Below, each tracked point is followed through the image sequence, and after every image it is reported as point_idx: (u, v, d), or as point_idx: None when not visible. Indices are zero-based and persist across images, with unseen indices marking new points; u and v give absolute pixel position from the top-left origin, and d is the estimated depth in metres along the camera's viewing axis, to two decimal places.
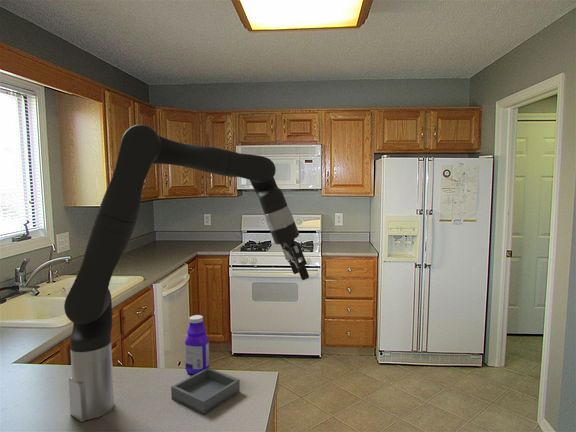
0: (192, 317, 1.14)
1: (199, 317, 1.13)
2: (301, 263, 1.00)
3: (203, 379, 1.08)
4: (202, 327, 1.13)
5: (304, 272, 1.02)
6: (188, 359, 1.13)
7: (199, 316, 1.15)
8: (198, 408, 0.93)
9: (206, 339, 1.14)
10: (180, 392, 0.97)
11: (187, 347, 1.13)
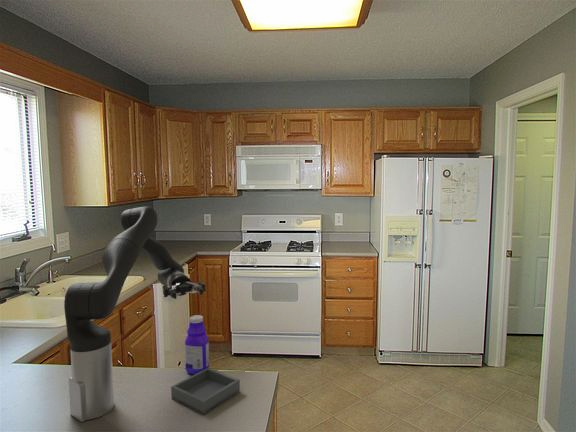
0: (192, 317, 1.14)
1: (199, 317, 1.13)
2: None
3: (203, 379, 1.08)
4: (202, 327, 1.13)
5: None
6: (188, 359, 1.13)
7: (199, 316, 1.15)
8: (198, 408, 0.93)
9: (206, 339, 1.14)
10: (180, 392, 0.97)
11: (187, 347, 1.13)
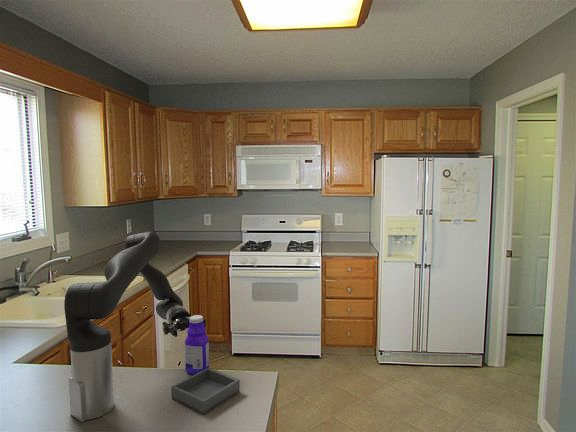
0: (192, 317, 1.14)
1: (199, 317, 1.13)
2: None
3: (203, 379, 1.08)
4: (202, 327, 1.13)
5: None
6: (188, 359, 1.13)
7: (199, 316, 1.15)
8: (198, 408, 0.93)
9: (206, 339, 1.14)
10: (180, 392, 0.97)
11: (187, 347, 1.13)
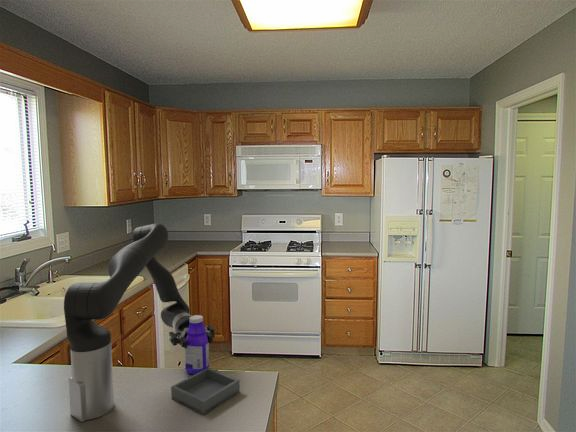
0: (192, 317, 1.14)
1: (199, 317, 1.13)
2: None
3: (203, 379, 1.08)
4: (202, 327, 1.13)
5: None
6: (188, 359, 1.13)
7: (199, 316, 1.15)
8: (198, 408, 0.93)
9: (206, 339, 1.14)
10: (180, 392, 0.97)
11: (187, 347, 1.13)
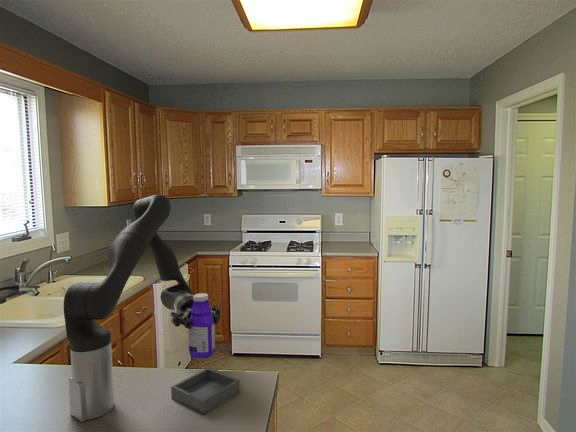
0: (196, 295, 1.03)
1: (204, 295, 1.02)
2: None
3: (203, 379, 1.08)
4: (207, 306, 1.02)
5: None
6: (192, 341, 1.02)
7: (204, 294, 1.04)
8: (198, 408, 0.93)
9: (212, 319, 1.03)
10: (180, 392, 0.97)
11: None
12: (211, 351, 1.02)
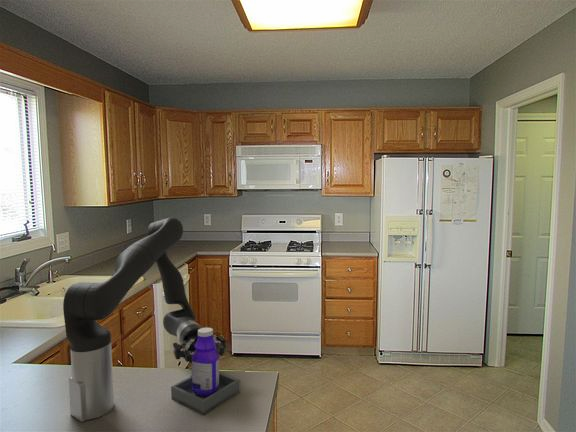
0: (201, 330, 1.00)
1: (208, 330, 1.00)
2: None
3: None
4: (212, 341, 1.00)
5: None
6: (195, 378, 0.99)
7: (209, 329, 1.01)
8: (198, 408, 0.93)
9: (216, 355, 1.00)
10: (180, 392, 0.97)
11: (194, 364, 0.99)
12: (215, 388, 0.99)
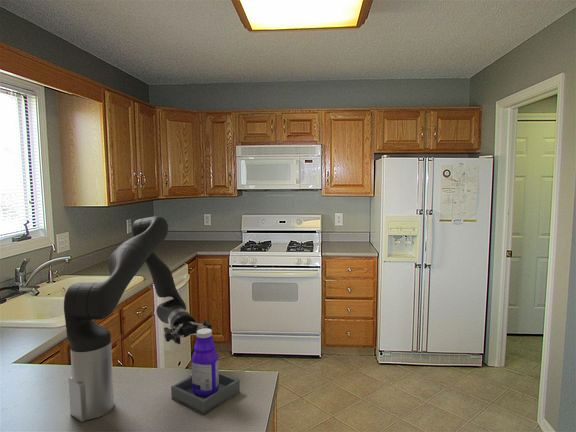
0: (200, 331, 1.00)
1: (207, 331, 0.99)
2: None
3: None
4: (211, 342, 0.99)
5: None
6: (195, 379, 0.99)
7: (208, 330, 1.01)
8: (198, 408, 0.93)
9: (216, 356, 1.00)
10: (180, 392, 0.97)
11: (194, 366, 0.99)
12: (215, 389, 0.99)
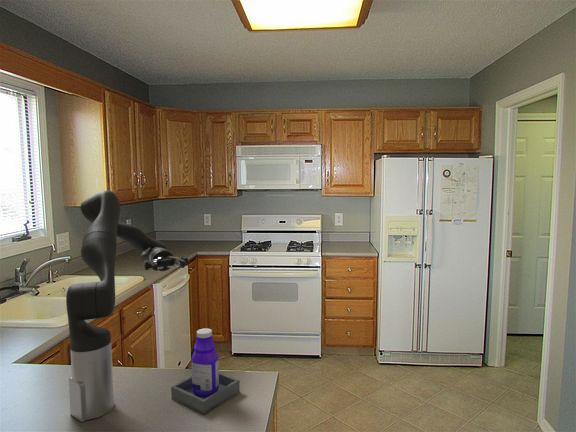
0: (200, 331, 1.00)
1: (207, 331, 0.99)
2: None
3: None
4: (211, 342, 0.99)
5: None
6: (195, 379, 0.99)
7: (208, 330, 1.01)
8: (198, 408, 0.93)
9: (216, 356, 1.00)
10: (180, 392, 0.97)
11: (194, 366, 0.99)
12: (215, 389, 0.99)
